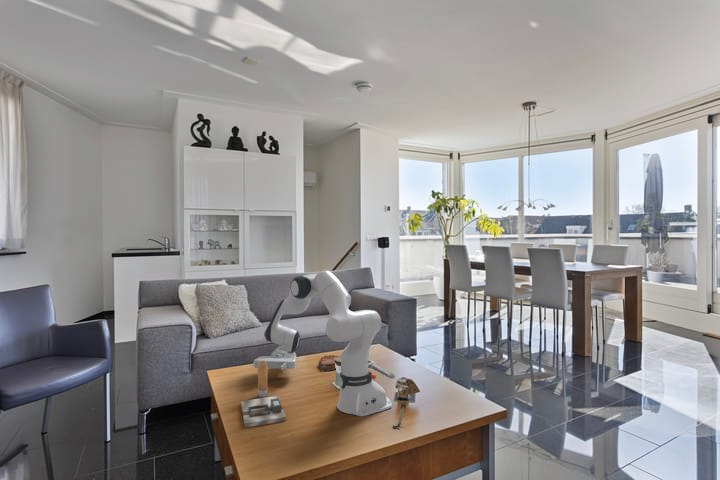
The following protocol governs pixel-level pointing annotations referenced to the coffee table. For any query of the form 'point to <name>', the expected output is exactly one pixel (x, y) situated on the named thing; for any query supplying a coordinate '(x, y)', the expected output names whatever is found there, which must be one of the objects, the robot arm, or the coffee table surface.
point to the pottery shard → (327, 363)
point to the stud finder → (275, 405)
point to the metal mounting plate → (260, 412)
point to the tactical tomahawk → (400, 416)
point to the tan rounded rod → (262, 378)
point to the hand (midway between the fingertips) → (270, 368)
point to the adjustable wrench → (380, 369)
